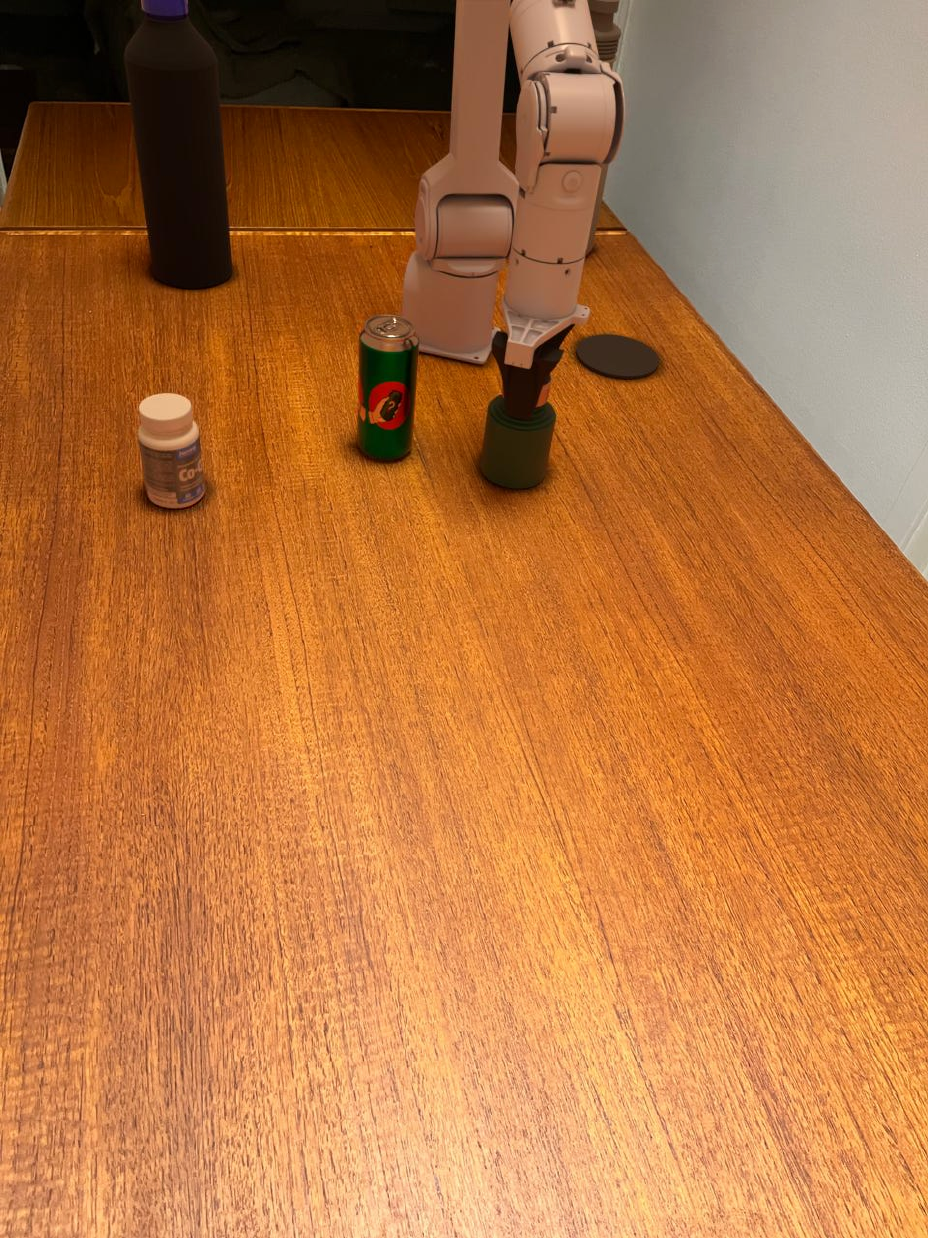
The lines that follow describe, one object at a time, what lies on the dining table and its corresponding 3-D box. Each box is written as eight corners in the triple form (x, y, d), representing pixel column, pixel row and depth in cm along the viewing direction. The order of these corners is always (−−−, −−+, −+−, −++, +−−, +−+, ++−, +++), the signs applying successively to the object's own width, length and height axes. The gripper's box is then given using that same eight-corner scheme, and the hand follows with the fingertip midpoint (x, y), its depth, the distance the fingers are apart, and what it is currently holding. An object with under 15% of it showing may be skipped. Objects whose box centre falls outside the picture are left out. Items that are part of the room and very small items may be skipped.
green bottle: (472, 479, 86) (484, 390, 80) (488, 444, 91) (500, 357, 84) (538, 495, 86) (555, 406, 79) (551, 458, 90) (567, 371, 84)
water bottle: (502, 232, 127) (533, -19, 107) (567, 226, 130) (608, -19, 111) (539, 265, 120) (579, 5, 101) (606, 258, 124) (657, 5, 105)
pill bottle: (192, 514, 79) (181, 427, 74) (137, 503, 80) (122, 415, 74) (214, 482, 83) (205, 395, 77) (161, 471, 83) (149, 384, 77)
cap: (551, 389, 84) (555, 368, 83) (542, 412, 81) (546, 391, 80) (507, 379, 85) (510, 358, 83) (496, 402, 82) (499, 381, 80)
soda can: (423, 449, 89) (432, 329, 81) (383, 470, 86) (389, 347, 78) (385, 425, 92) (390, 306, 83) (345, 445, 89) (346, 323, 80)
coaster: (569, 368, 103) (569, 365, 102) (583, 330, 109) (583, 327, 109) (653, 386, 102) (654, 383, 101) (662, 347, 108) (663, 344, 108)
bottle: (248, 271, 112) (231, -13, 93) (194, 296, 106) (163, 0, 87) (191, 248, 115) (163, -32, 95) (135, 272, 109) (93, -21, 90)
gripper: (583, 298, 68) (553, 458, 78) (614, 223, 79) (584, 372, 88) (487, 278, 69) (468, 439, 79) (529, 206, 80) (508, 356, 89)
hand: (524, 403), depth 83 cm, fingers closed on cap, 4 cm apart
